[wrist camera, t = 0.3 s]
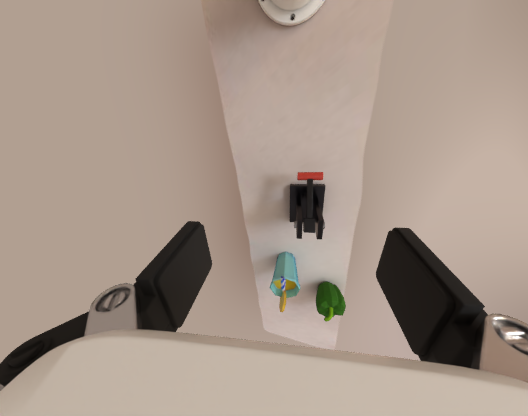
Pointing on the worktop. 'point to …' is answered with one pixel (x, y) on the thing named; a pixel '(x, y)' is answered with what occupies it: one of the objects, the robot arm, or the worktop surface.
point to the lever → (309, 198)
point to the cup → (285, 278)
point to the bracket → (300, 207)
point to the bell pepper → (329, 301)
